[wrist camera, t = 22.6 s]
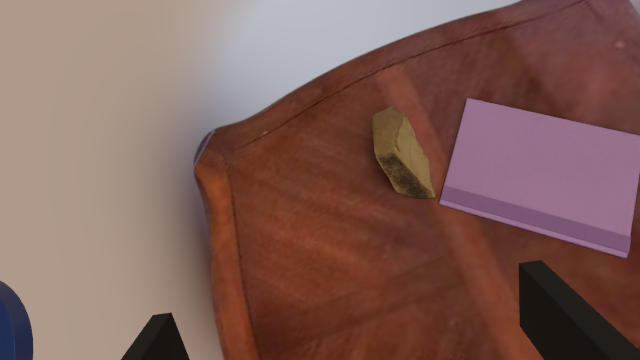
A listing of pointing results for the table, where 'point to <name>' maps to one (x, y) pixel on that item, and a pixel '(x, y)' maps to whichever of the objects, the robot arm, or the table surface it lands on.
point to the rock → (401, 154)
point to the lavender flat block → (545, 175)
